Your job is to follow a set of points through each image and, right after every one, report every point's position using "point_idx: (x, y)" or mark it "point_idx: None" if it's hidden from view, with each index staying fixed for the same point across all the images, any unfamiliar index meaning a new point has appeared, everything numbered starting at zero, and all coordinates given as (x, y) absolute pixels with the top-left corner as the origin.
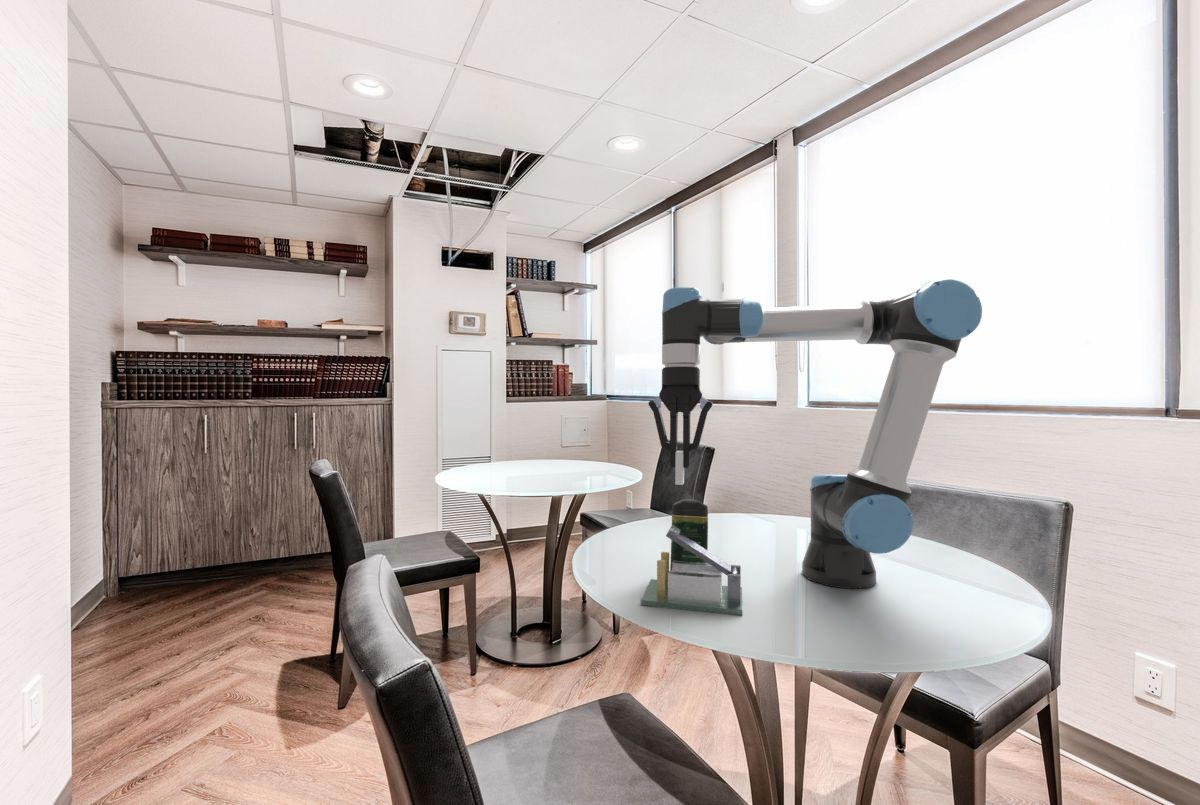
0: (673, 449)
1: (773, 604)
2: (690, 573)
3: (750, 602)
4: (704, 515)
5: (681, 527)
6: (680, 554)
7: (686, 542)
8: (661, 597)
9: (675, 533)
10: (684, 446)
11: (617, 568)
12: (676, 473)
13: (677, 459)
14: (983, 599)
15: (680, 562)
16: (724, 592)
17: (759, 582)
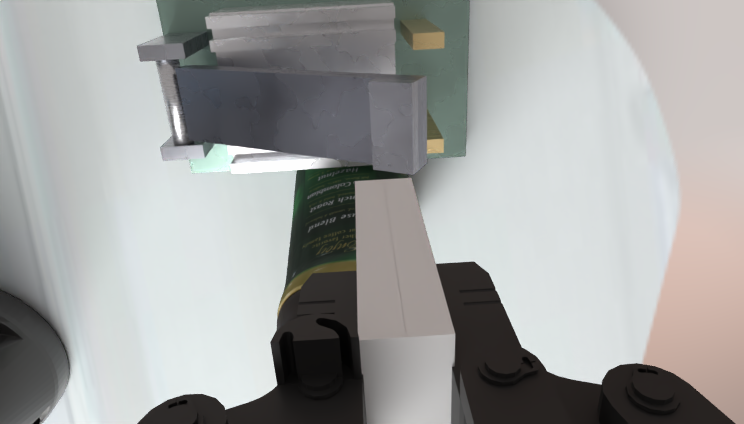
0: (490, 355)
1: (92, 103)
2: (317, 39)
3: (156, 97)
4: (285, 302)
5: None
6: None
7: (334, 89)
8: (410, 11)
9: (382, 80)
10: (341, 407)
11: (577, 243)
12: (411, 214)
13: (418, 283)
14: None
15: None
16: None
17: (163, 256)
